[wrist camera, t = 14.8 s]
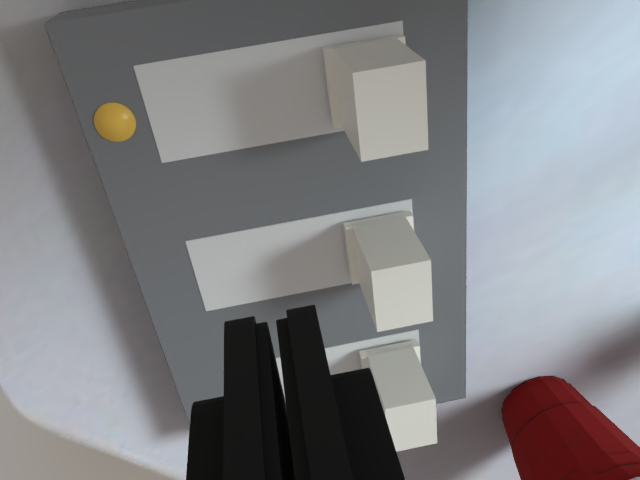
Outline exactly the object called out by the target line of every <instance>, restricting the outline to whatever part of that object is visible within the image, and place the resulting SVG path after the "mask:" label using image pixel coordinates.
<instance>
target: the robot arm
mask: <svg viewBox="0 0 640 480" xmlns="http://www.w3.org/2000/svg"><path fill="white" fill-rule="evenodd" d="M286 313H287V318H283V319H278V320H276V325H277V333H278V342H279V350H280V358H281V367H282V375H283V384H284V392H285V398H284V394H283V389H282V385H281V380H280V376H279V371H278V367H277V362H276V358H275V354H274V349H273V345H272V340H271V336H270V331H269V327H268V323H267V322H262V323H256V319H255V317H254V316H251V317H246V318H241V319H235V320H230V321H225V323H224V396H222V397H217V398H212V399H206V400H201V401H196V402H193V405H192V409H191V418H190V433H189V447H188V462H187V476H186V480H405V479H404V475H403V472H402V469H401V466H400V462H399V459H398V456H397V453H396V449H395V446H394V443H393V440H392V436H391V433H390V430H389V427H388V424H387V420H386V417H385V414H384V411H383V407H382V404H381V401H380V398H379V394H378V391H377V388H376V385H375V382H374V378H373V375H372V372H371V370H370V368H364V369H359V370H354V371H349V372H344V373H339V374H334V375H330V371H329V366H328V361H327V357H326V352H325V348H324V343H323V339H322V334H321V330H320V325H319V321H318V316H317V312H316V307H315V305H309V306H304V307H299V308H293V309H288V310H286ZM285 400H286V402H285Z"/></svg>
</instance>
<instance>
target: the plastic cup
mask: <svg viewBox="0 0 640 480" xmlns="http://www.w3.org/2000/svg"><path fill="white" fill-rule="evenodd" d="M501 411H502V415H503V417H502V418H503V422H504V426H505V430H506V433H507V436H508V438H509V441H510V444H511V448H512V453H513V457H514V460H515V463H516V466H517V469H518V472H519V475H520V478H521V480H640V447H639V446H638V445H637V444H635V443H634V442H633V441H632V440H631V439H630V438H629V437H628V436H627V435H626V434H625V433H623V432H622V431H621V430H620V429H619V428H618V427H617V426H616V425H615V424H614V423H613V422H612V421H610V420H609V419H608V418H607V417H606V416H605V415H604V414H603V413H602V412H601V411H600V410H599V409H597V408H596V407H595V406H592V405H591V404H590V403H589V402H588V401H587V400H586V399H585V398H584V397H583V396H582V395H581V394H580V393H579V392H578V391H577V390H576V389H575V388H574V387H573V386H572V385H571V384H569V383H567V382H566V381H565V380H564V379H560V378H557V377H554V376H544V377H537V378H534V379H531V380H529V381H526V382H524V383H523V384H521V385H520V386H518V387H517V388H515V389H514V390H513V391H512V392H511V393H510V394H509V395H508V397H507V398H506V399H505V401H504V404H503V407H502V410H501Z"/></svg>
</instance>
